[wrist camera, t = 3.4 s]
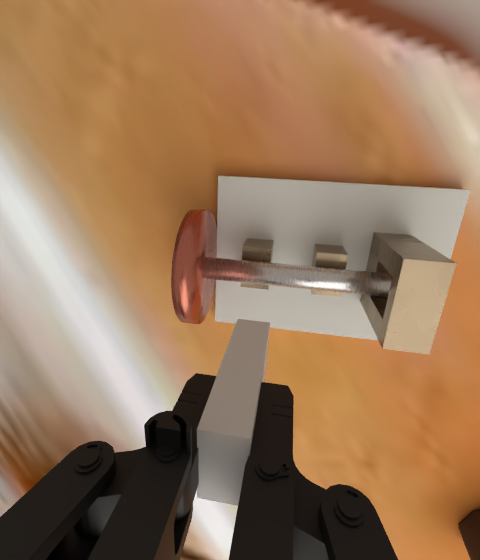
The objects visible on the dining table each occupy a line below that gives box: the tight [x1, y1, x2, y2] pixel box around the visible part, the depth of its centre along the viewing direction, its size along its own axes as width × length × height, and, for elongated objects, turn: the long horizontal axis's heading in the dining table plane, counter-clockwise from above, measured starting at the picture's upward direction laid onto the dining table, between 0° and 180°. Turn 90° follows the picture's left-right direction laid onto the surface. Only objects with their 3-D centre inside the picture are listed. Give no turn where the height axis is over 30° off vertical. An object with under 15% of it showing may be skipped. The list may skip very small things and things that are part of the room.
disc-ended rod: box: [171, 209, 392, 324], centre depth 25 cm, size 20×9×9 cm, turn 87°
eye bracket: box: [240, 232, 457, 354], centre depth 25 cm, size 14×6×8 cm, turn 87°
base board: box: [215, 175, 471, 340], centre depth 29 cm, size 20×14×1 cm
